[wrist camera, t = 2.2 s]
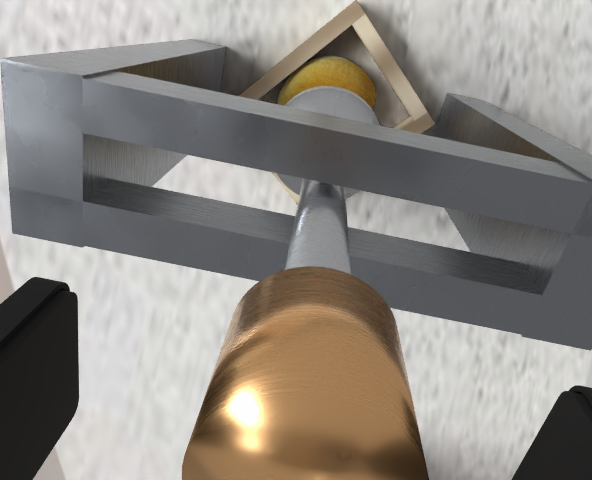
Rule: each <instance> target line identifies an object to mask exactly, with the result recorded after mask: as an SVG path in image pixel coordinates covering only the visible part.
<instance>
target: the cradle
mask: <svg viewBox="0 0 592 480" xmlns="http://www.w3.org/2000/svg"><path fill="white" fill-rule="evenodd" d="M351 25H352V27H353V28H354V30H355V31H356V33H357V35H358V36H359V38H360V39H361V41H362V42H363V44H364V45H365V47H366V48H367V50H368V51H369V53H370V54H371V56H372V58H373V59H374V61H375V62H376V64H377V65H378V67H379V68H380V70H381V71H382V73H383V74H384V76H385V78H386V79H387V81H388V82H389V84H390V85H391V87H392V88H393V90H394V91H395V93H396V94H397V96H398V98H399V99H400V101H401V102H402V104H403V105H404V107H405V108H406V110H407V111H408V113H409V114H410V116H409V117H407V118H406V119H405V120H403V121H402V122H400V123H399V124H397V125H396V126H395V127H393V128H394V129H399V130H403V131H408V132H413V133H418V134H421V133H423V132H424V131H426V130H427V129H429V128H430V127H432V126H433V125H435V123H434V121H433V120H432V118H431V116H430V115H429V113H428V112H427V110H426V109H425V107H424V105H423V104H422V102H421V101H420V99H419V98H418V96H417V94H416V93H415V91H414V90H413V88H412V87H411V85H410V83H409V82H408V80H407V79H406V77H405V76H404V74H403V72H402V71H401V69H400V68H399V66H398V65H397V63H396V61H395V60H394V58H393V57H392V55H391V54H390V52H389V50H388V49H387V47H386V46H385V44H384V43H383V41H382V39H381V38H380V36H379V35H378V33H377V32H376V30H375V28H374V27H373V25H372V24H371V22H370V21H369V19H368V17H367V16H366V14H365V13H364V11H363V9H362V8H361V6H360V5H359V3H358V2H357V0H355V1H354V2H353V3H352V4H350V5H349V6H348V7H347V8H346V9H344V10H343V11H342V12H341V13H339V14H338V15H337V16H336V17H335V18H333V19H332V20H331V21H330V22H328V23H327V24H326V25H325V26H323V27H322V28H321V29H320V30H319V31H317V32H316V33H315V34H314V35H312V36H311V37H310V38H309V39H308V40H306V41H305V42H304V43H303V44H301V45H300V46H299V47H298V48H297V49H295V50H294V51H293V52H292V53H290V54H289V55H288V56H287V57H286V58H284V59H283V60H282V61H281V62H279V63H278V64H277V65H276V66H275V67H273V68H272V69H271V70H270V71H268V72H267V73H266V74H265V75H264V76H262V77H261V78H260V79H259V80H257V81H256V82H255V83H254V84H252V85H251V86H250V87H249V88H248V89H246V90H245V91H244V92H243V93H241V94H240V95H239V96H240V97H245V98H249V99H254V100H258V99H260V98H261V97H262V96H263V95H265V94H266V93H267V92H268V91H270V90H271V89H272V88H273V87H275V86H276V85H277V84H278V83H280V82H281V81H282V80H283V79H285V78H286V77H287V76H288V75H290V74H291V73H292V72H293V71H295V70H296V69H297V68H298V67H300V66H301V65H302V64H303V63H305V62H306V61H307V60H308V59H310V58H311V57H312V56H313V55H315V54H316V53H317V52H318V51H320V50H321V49H322V48H323V47H325V46H326V45H327V44H328V43H330V42H331V41H332V40H333V39H335V38H336V37H337V36H338V35H340V34H341V33H342V32H343V31H345V30H346V29H347V28H348V27H350V26H351ZM272 173H273V174H274V176H275V177H276V178H277V179H278V181H279V182H280V183H281V185H282V186H283V187H284V188H285V190H286V191H287V192H288V193H289V195H290V196H291V197H292V199H293V200H294V201H295V202H296V204H297V205H298V201H299V195H298V194H296V193H294V192H293V191H292V190H290V189H289V188H288V187H287V186H286V185H285V184H284V183H283V182H282V181H281V180H280V178H279V177H278V175H277V174H276V173H274V172H272Z"/></svg>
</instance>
